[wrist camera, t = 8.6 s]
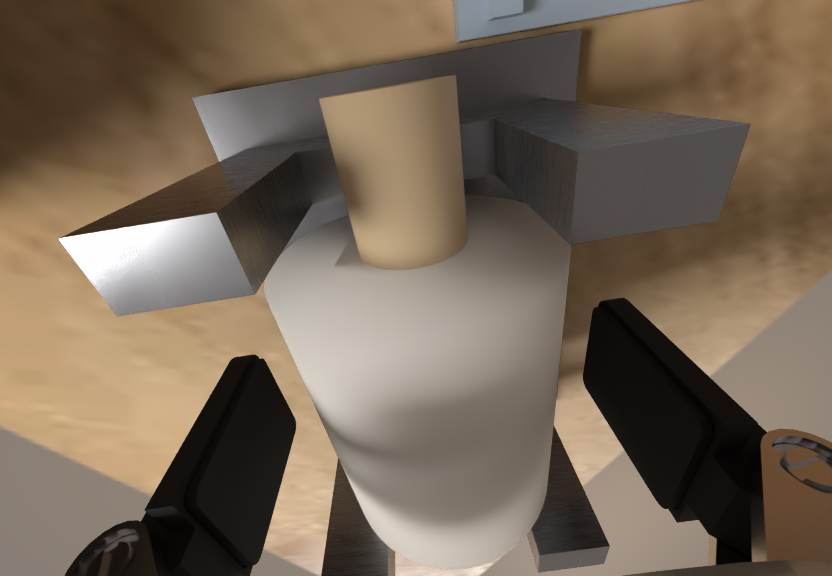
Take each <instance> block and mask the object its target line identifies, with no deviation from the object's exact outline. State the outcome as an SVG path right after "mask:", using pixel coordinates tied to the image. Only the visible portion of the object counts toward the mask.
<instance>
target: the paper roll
mask: <svg viewBox="0 0 832 576" xmlns="http://www.w3.org/2000/svg"><path fill="white" fill-rule="evenodd" d="M319 102H320V105H321V109H322V113H323V117H324V121H325V125H326V128H327V132H328V136H329V140H330V144H331V148H332V151H333V155H334V159H335V163H336V167H337V171H338V174H339V178H340V182H341V186H342V190H343V194H344V198H345V201H346V205H347V209H348V213H349V215H346V216H343V217H341V218H338V219H336V220H334V221H331V222H329V223H327V224H325V225H323V226H321V227H319V228H317V229H315V230H313V231H311V232H310V233H308V234H306V235H305V236H303V237H302V238H300V239H299V240H297V241H296V242H294V243H293V244H292V245H290V246H289V247H288V248H287V249H286V250H285V251H284V252H283V253H282V254H281V255H280V256H279V258H278V259H277V261H276V262H275V264H274V265H273V267H272V269H271V270H270V272H269V273H268V275H267V276H266V279H265V283H264V293H265V296H266V299H267V302H268V304H269V306H270V308H271V311H272V313H273V315H274V317H275V319H276V322H277V324H278V326H279V328H280V330H281V333H282V335H283V337H284V339H285V341H286V344H287V346H288V348H289V350H290V352H291V355H292V357H293V359H294V361H295V363H296V366H297V368H298V370H299V372H300V374H301V377H302V379H303V381H304V383H305V385H306V388H307V390H308V392H309V394H310V396H311V399H312V401H313V403H314V405H315V407H316V410H317V412H318V414H319V416H320V418H321V421H322V423H323V425H324V427H325V429H326V432H327V434H328V436H329V438H330V440H331V443H332V445H333V447H334V449H335V451H336V454H337V456H338V458H339V460H340V462H341V465H342V467H343V469H344V471H345V473H346V476H347V478H348V480H349V482H350V484H351V487H352V489H353V491H354V493H355V495H356V498H357V500H358V502H359V504H360V506H361V509H362V511H363V513H364V515H365V517H366V519H367V521H368V522H369V524H370V526H371V528H372V529H373V530H374V531H375V533H376V534H377V535H378V536H379V538H380V539H381V540H382V541H383V542H384V543H385V544H386V545H388V546H389V547H390V548H391V549H392V550H394V551H395V552H397V553H398V554H400V555H401V556H403V557H404V558H406V559H409V560H411V561H413V562H415V563H417V564H421V565H424V566H428V567H431V568H438V569H446V570H453V569H467V568H471V567H476V566H480V565H483V564H486V563H488V562H491V561H493V560H495V559H497V558H499V557H501V556H502V555H504V554H506V553H508V552H509V551H510V550H511V549H512V548H514V547H515V546H516V545H517V544H519V543H520V542H521V541H522V539H523V538H524V537H525V536H526V535H527V534H528V533H529V531H530V530H531V528H532V527H533V525H534V524H535V522H536V520H537V519H538V517H539V514H540V512H541V510H542V507H543V504H544V501H545V497H546V493H547V484H548V475H549V465H550V455H551V445H552V435H553V425H554V415H555V405H556V395H557V386H558V376H559V366H560V356H561V346H562V336H563V326H564V316H565V306H566V296H567V286H568V277H569V267H570V257H571V247H572V244H569V243H568V242H566V241H565V240H564V239H563V238H562V237H561V236H560V235H559V234H558V233H557V232H556V231H555V230H554V229H553V228H552V227H550V226H549V225H548V224H547V223H546V222H545V221H544V220H543V219H542V218H541V217H540V216H539V215H538V214H537V213H536V212H534V211H533V210H532V209H531V208H530V207H529V206H528V205H527V204H526V203H522V202H519V201H515V200H510V199H505V198H499V197H491V196H480V195H465V193H464V179H463V165H462V152H461V138H460V124H459V111H458V97H457V83H456V75H453V76H445V77H438V78H432V79H426V80H419V81H413V82H407V83H401V84H396V85H390V86H384V87H378V88H373V89H367V90H361V91H356V92H351V93H345V94H340V95H335V96H330V97H325V98H321V99H319Z"/></svg>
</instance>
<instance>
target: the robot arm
mask: <svg viewBox="0 0 832 576" xmlns="http://www.w3.org/2000/svg"><path fill="white" fill-rule="evenodd" d="M583 381H584V384H585V387H586V389H587V390H588V392H589V394H590V395H591V397H592V398H593V400H594V402H595V403H596V405H597V406H598V408H599V410H600V411H601V413H602V414H603V416H604V418H605V419H606V421H607V422H608V424H609V426H610V427H611V429H612V430H613V432H614V434H615V435H616V437H617V438H618V440H619V442H620V443H621V445H622V447H623V448H624V450H625V451H626V453H627V455H628V456H629V458H630V459H631V461H632V462H633V464H634V465H635V467H636V469H637V470H638V472H639V474H640V475H641V477H642V478H643V480H644V482H645V483H646V485H647V487H648V488H649V490H650V491H651V493H652V495H653V496H654V497H655V499H656V501H657V502H658V504H659V505H660V506H661V507H663V508H664V509H669V511H670V512H671V514H672V515H673V517H674V518H675V520H676V522H685V521H692V520H699V521H700V522H701V523H702V525H703V526H704V528H705V529H706V531H707V532H708V534H709V552H708V566H704V567H694V568H685V569H675V570H665V571H656V572H649V573H640V574H632V575H625V576H832V443H831V442H829V441H827V440H825V439H823V438H820V437H817V436H815V435H813V434H810V433H806V432H802V431H798V430H793V429H792V430H791V429H777V430H773V431H769V432H768V433H767V432H766V431H765V430H764V429H763V428H762V427H761V426H759V425H758V423H757V422H756V421H755V420H754V419H753V418H752V417H751V416H750V415H749V414H748V413H747V412H746V411H745V410H744V409H743V408H741V407H740V406H739V405H738V404H737V403H736V402H735V401H734V400H733V399H732V398H731V397H730V396H729V395H728V394H727V393H726V392H724V391H723V390H722V389H721V388H720V387H719V386H718V385H717V384H716V383H715V382H714V381H713V380H712V379H711V378H710V377H709V376H708V375H706V374H705V373H704V372H703V371H702V370H701V369H700V368H699V367H698V366H697V365H696V364H695V363H694V362H693V361H692V360H691V359H690V358H688V357H687V356H686V355H685V354H684V353H683V352H682V351H681V350H680V349H679V348H678V347H677V346H676V345H675V344H674V343H673V342H671V341H670V340H669V339H668V338H667V337H666V336H665V335H664V334H663V333H662V332H661V331H660V330H659V329H658V328H657V327H656V326H655V325H653V324H652V323H651V322H650V321H649V320H648V319H647V318H646V317H645V316H644V315H643V314H642V313H641V312H640V311H639V310H638V309H636V308H635V307H634V306H633V305H632V304H631V303H630V302H629V301H628V300H627V299H625V298H618V299H612V300H605V301H601V302H600V303H599V305H598V307H595V308H594V309H593V313H592V319H591V326H590V332H589V339H588V346H587V352H586V359H585V365H584V372H583ZM295 431H296V421H295V418H294V416H293V414H292V412H291V410H290V408H289V406H288V404H287V402H286V400H285V398H284V396H283V394H282V392H281V391H280V389H279V387H278V385H277V383H276V381H275V379H274V377H273V375H272V373H271V371H270V369H269V367H268V365H267V363H266V362H265V360H264V359H259V357H258V356H256V355H247V356H241V357H235V358H233V359H232V360H231V361H230V362H229V364H228V366H227V368H226V369H225V371H224V373H223V375H222V376H221V378H220V380H219V381H218V383H217V385H216V387H215V388H214V390H213V392H212V394H211V395H210V397H209V399H208V401H207V402H206V404H205V406H204V408H203V409H202V411H201V413H200V414H199V416H198V418H197V420H196V421H195V423H194V425H193V427H192V428H191V430H190V432H189V434H188V435H187V437H186V439H185V441H184V442H183V444H182V446H181V447H180V449H179V451H178V453H177V454H176V456H175V458H174V460H173V461H172V463H171V465H170V467H169V468H168V470H167V472H166V474H165V475H164V477H163V479H162V480H161V482H160V484H159V486H158V487H157V489H156V491H155V493H154V494H153V496H152V498H151V500H150V501H149V503H148V505H147V507H146V508H145V511H146V514H145V515H144V517H143V519H142V521H141V522H140V521H126V522H123V523H121V524H118V525H115V526H114V527H112V528H110V529H109V530H107V531H105V532H104V533H102V534H101V535H100V536H98V537H97V538H96V539H95V540H93V541H92V542H91V543H90V544H89V545H88V546H87V547H86V548H85V549H84V550H83V551H82V552H81V553H80V554H79V555H78V556H77V558H76V559H75V560H74V562H73V563H72V565H71V566H70V567H69V569H68V570H67V572H66V574H65V576H250V573H251V570H252V567H253V565H255V564H257V562H258V561H259V559H260V557H261V554H262V550H263V547H264V543H265V540H266V536H267V532H268V529H269V525H270V521H271V518H272V514H273V511H274V507H275V503H276V500H277V496H278V493H279V489H280V485H281V482H282V478H283V474H284V471H285V467H286V464H287V460H288V456H289V453H290V449H291V445H292V442H293V438H294V435H295Z"/></svg>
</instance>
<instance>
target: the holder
mask: <svg viewBox="0 0 832 576" xmlns="http://www.w3.org/2000/svg"><path fill="white" fill-rule="evenodd" d="M581 33H582V29H579V30H573V31H568V32H562V33H556V34H551V35H545V36H539V37H534V38H528V39H522V40H517V41H511V42H505V43H499V44H494V45H488V46H482V47H477V48H471V49H465V50H460V51H454V52H448V53H443V54H437V55H431V56H426V57H420V58H414V59H409V60H403V61H397V62H391V63H386V64H380V65H374V66H369V67H363V68H357V69H352V70H346V71H340V72H335V73H329V74H323V75H318V76H312V77H306V78H300V79H295V80H289V81H283V82H278V83H272V84H266V85H261V86H255V87H249V88H244V89H238V90H232V91H227V92H221V93H215V94H210V95H204V96H198V97H192V100H193V102H194V104H195V107H196V109H197V111H198V113H199V116H200V118H201V120H202V123H203V125H204V127H205V130H206V132H207V134H208V137H209V139H210V141H211V144H212V146H213V148H214V150H215V153H216V155H217V157H218V160H219V162H218V163H216V164H214V165H211V166H209V167H207V168H205V169H203V170H201V171H199V172H197V173H195V174H193V175H191V176H188V177H186V178H184V179H182V180H180V181H178V182H176V183H174V184H172V185H170V186H168V187H165V188H163V189H161V190H159V191H157V192H155V193H153V194H151V195H149V196H147V197H145V198H142V199H140V200H138V201H136V202H134V203H132V204H130V205H128V206H126V207H124V208H122V209H119V210H117V211H115V212H113V213H111V214H109V215H107V216H105V217H103V218H101V219H99V220H96V221H94V222H92V223H90V224H88V225H86V226H84V227H82V228H80V229H78V230H76V231H73V232H71V233H69V234H67V235H65V236H63V237H61V238H59V240H60V241H61V243H62V244H63V245H64V247H65V248H66V249H67V251H68V252H69V253H70V255H71V256H72V257H73V259H74V260H75V261H76V263H77V264H78V265H79V267H80V268H81V269H82V271H83V272H84V273H85V275H86V276H87V277H88V278H89V280H90V281H91V282H92V284H93V285H94V286H95V288H96V289H97V290H98V292H99V293H100V294H101V296H102V297H103V298H104V300H105V301H106V302H107V304H108V305H109V306H110V308H111V309H112V310H113V312H114V313H115V314H116V316H122V315H129V314H135V313H141V312H148V311H154V310H160V309H167V308H173V307H179V306H186V305H192V304H198V303H204V302H211V301H217V300H223V299H230V298H236V297H242V296H249V295H255V294H256V292H257V291H258V289H259V287H260V286H261V284H262V283H263V281H264V280H265V278H266V276H267V275H268V273H269V272H270V270H271V269H272V267H273V265H274V264H275V262H276V261H277V259H278V258H279V256H280V255H281V254H282V253H283V252H284V251H285V250H286V249H287V248H288V247H289V246H290V245H292V244H293V243H294V242H296V241H297V240H299V239H300V238H302V237H303V236H305V235H306V234H308V233H310V232H311V231H313V230H315V229H317V228H319V227H321V226H323V225H325V224H327V223H329V222H331V221H334V220H336V219H338V218H341V217H343V216H346V215H349V213H348V209H347V205H346V201H345V198H344V194H343V190H342V186H341V182H340V178H339V174H338V171H337V167H336V163H335V159H334V155H333V151H332V148H331V144H330V140H329V136H328V132H327V128H326V125H325V121H324V117H323V113H322V109H321V105H320V102H319V99H321V98H325V97H330V96H335V95H340V94H345V93H351V92H356V91H361V90H367V89H373V88H378V87H384V86H390V85H396V84H401V83H407V82H413V81H419V80H426V79H432V78H438V77H445V76H453V75H456V83H457V97H458V111H459V124H460V138H461V152H462V165H463V179H464V193H465V195H480V196H491V197H499V198H505V199H510V200H515V201H519V202H522V203H526V204H527V205H528V206H529V207H530V208H531V209H532V210H533V211H534V212H536V213H537V214H538V215H539V216H540V217H541V218H542V219H543V220H544V221H545V222H546V223H547V224H548V225H549V226H550V227H552V228H553V229H554V230H555V231H556V232H557V233H558V234H559V235H560V236H561V237H562V238H563V239H564V240H565V241H566V242H568V243H569V244H576V243H583V242H589V241H595V240H602V239H608V238H614V237H621V236H627V235H633V234H640V233H646V232H652V231H658V230H665V229H671V228H677V227H684V226H690V225H696V224H703V223H709V222H715V221H718V220H719V217H720V214H721V211H722V208H723V205H724V202H725V199H726V196H727V193H728V190H729V187H730V185H731V182H732V179H733V176H734V173H735V170H736V167H737V164H738V161H739V158H740V155H741V152H742V149H743V146H744V143H745V140H746V137H747V134H748V131H749V128H750V125H751V124H748V123H740V122H732V121H725V120H717V119H709V118H701V117H693V116H685V115H677V114H669V113H661V112H653V111H645V110H637V109H629V108H621V107H613V106H605V105H597V104H589V103H581V102H576V91H577V80H578V68H579V56H580V45H581ZM527 537H528V540H529V544H530V547H531V551H532V554H533V557H534V561H535V564H536V568H537V571H538V572H546V571H553V570H561V569H568V568H576V567H584V566H591V565H599V564H604V562H605V559H606V556H607V553H608V550H609V547H610V545H609V543H608V541H607V539H606V537H605V535H604V532H603V530H602V528H601V526H600V524H599V522H598V519H597V517H596V515H595V513H594V511H593V509H592V507H591V504H590V502H589V500H588V498H587V496H586V494H585V491H584V489H583V487H582V485H581V483H580V481H579V479H578V476H577V474H576V472H575V470H574V468H573V466H572V463H571V461H570V459H569V457H568V455H567V453H566V451H565V448H564V446H563V444H562V442H561V440H560V438H559V436H558V433H557V431H556V429H555V427H554V425H553V435H552V445H551V455H550V465H549V475H548V484H547V493H546V497H545V501H544V504H543V507H542V510H541V512H540V514H539V517H538V519H537V520H536V522H535V524H534V525H533V527H532V528H531V530H530V531H529V533H528V534H527ZM321 576H395V551H394V550H392V549H391V548H390V547H389V546H388V545H386V544H385V543H384V542H383V541H382V540H381V539H380V538H379V536H378V535H377V534H376V533H375V531H374V530H373V529H372V528H371V526H370V524H369V522H368V521H367V519H366V517H365V515H364V513H363V511H362V509H361V506H360V504H359V502H358V500H357V498H356V495H355V493H354V491H353V489H352V487H351V484H350V482H349V480H348V478H347V476H346V473H345V471H344V469H343V467H342V465H341V462H340V460H339V458H338V464H337V471H336V477H335V484H334V491H333V498H332V505H331V512H330V519H329V526H328V533H327V540H326V547H325V554H324V561H323V568H322V575H321Z"/></svg>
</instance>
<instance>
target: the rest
mask: <svg viewBox="0 0 832 576" xmlns="http://www.w3.org/2000/svg"><path fill="white" fill-rule="evenodd" d="M453 1H454V16H455V30H456V43H460V42H466V41H472V40H477V39H483V38H489V37H494V36H500V35H506V34H511V33H517V32H523V31H528V30H534V29H540V28H545V27H551V26H557V25H562V24H568V23H574V22H579V21H585V20H591V19H596V18H602V17H608V16H613V15H619V14H625V13H630V12H636V11H642V10H647V9H653V8H659V7H664V6H670V5H676V4H681V3H687V2H693V1H698V0H453Z"/></svg>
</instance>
